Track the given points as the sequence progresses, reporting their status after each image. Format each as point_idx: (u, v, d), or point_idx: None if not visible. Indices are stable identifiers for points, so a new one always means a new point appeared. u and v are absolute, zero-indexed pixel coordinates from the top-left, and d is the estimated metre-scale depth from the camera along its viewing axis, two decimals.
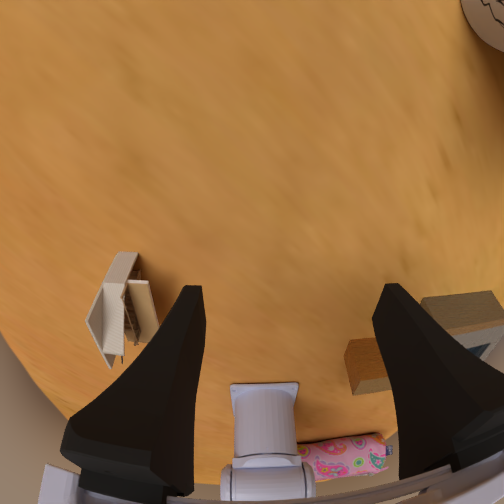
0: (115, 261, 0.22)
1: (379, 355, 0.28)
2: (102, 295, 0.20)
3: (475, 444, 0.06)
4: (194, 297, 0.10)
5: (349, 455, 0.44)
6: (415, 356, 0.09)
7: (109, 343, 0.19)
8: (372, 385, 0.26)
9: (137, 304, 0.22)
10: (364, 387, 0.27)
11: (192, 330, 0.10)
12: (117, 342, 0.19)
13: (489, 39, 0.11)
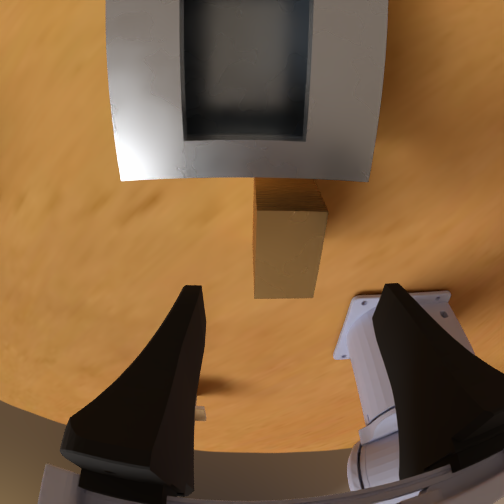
0: None
1: None
2: None
3: (475, 444, 0.06)
4: (194, 297, 0.10)
5: None
6: (415, 356, 0.09)
7: None
8: (282, 274, 0.15)
9: None
10: (285, 286, 0.15)
11: (192, 330, 0.10)
12: None
13: None
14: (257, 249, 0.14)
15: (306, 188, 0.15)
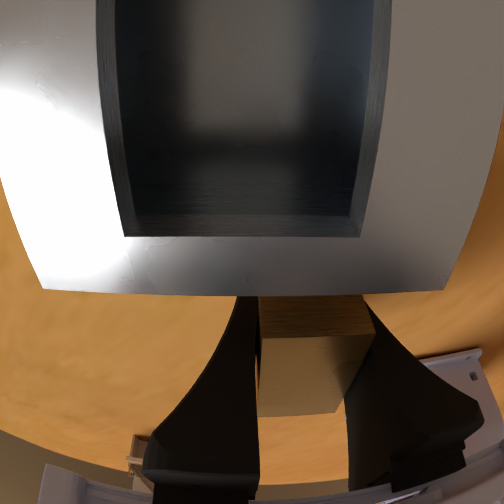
0: None
1: None
2: (138, 476, 0.23)
3: (419, 464, 0.06)
4: (254, 297, 0.10)
5: None
6: None
7: None
8: (296, 397, 0.10)
9: None
10: (299, 406, 0.10)
11: (256, 331, 0.10)
12: None
13: None
14: (262, 378, 0.09)
15: None
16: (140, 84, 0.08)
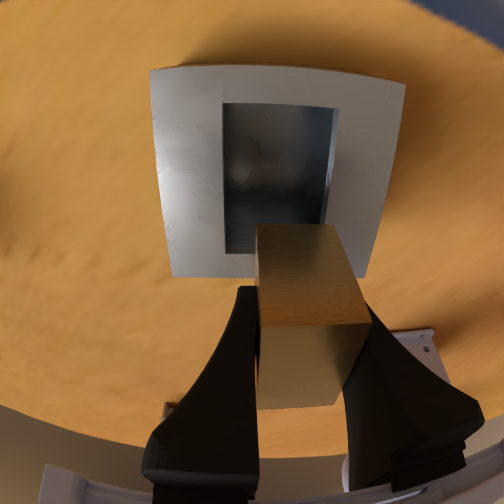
0: None
1: None
2: None
3: (419, 464, 0.06)
4: (254, 297, 0.10)
5: None
6: (361, 363, 0.09)
7: None
8: (295, 388, 0.10)
9: None
10: (298, 398, 0.10)
11: (256, 331, 0.10)
12: None
13: None
14: (261, 367, 0.09)
15: (336, 270, 0.10)
16: None
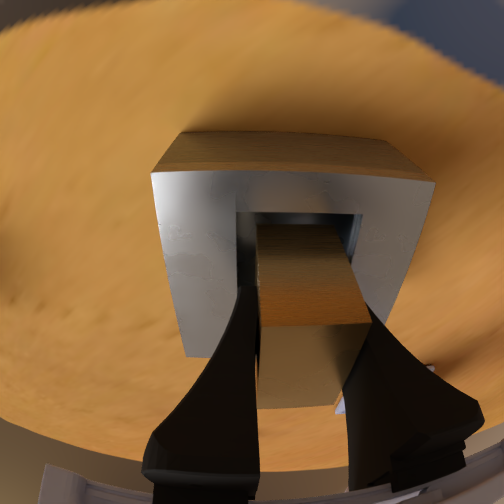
0: None
1: None
2: None
3: (419, 464, 0.06)
4: (254, 298, 0.10)
5: None
6: (360, 363, 0.09)
7: None
8: (295, 388, 0.10)
9: None
10: (298, 398, 0.10)
11: (256, 331, 0.10)
12: None
13: None
14: (261, 367, 0.09)
15: (335, 270, 0.10)
16: None
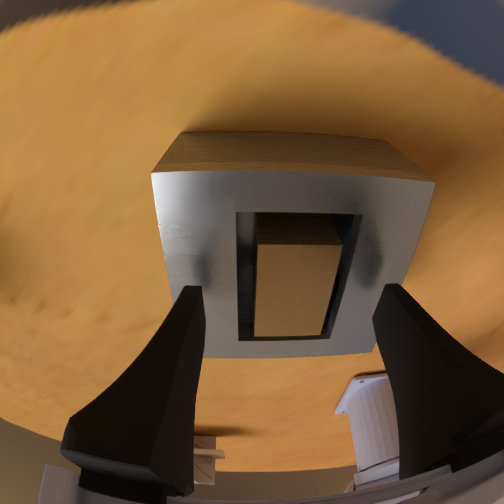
0: None
1: (254, 254, 0.14)
2: None
3: (475, 444, 0.06)
4: (194, 297, 0.10)
5: None
6: (415, 356, 0.09)
7: None
8: (286, 312, 0.13)
9: None
10: (289, 324, 0.13)
11: (192, 330, 0.10)
12: None
13: None
14: (258, 286, 0.12)
15: (316, 213, 0.13)
16: None
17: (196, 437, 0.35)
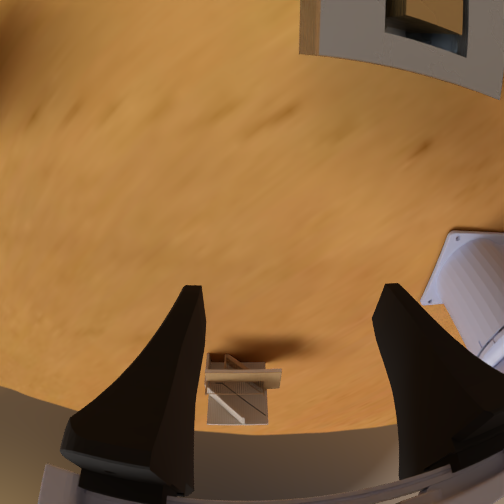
0: None
1: None
2: (212, 398, 0.27)
3: (475, 444, 0.06)
4: (194, 297, 0.10)
5: None
6: (415, 356, 0.09)
7: (237, 417, 0.25)
8: None
9: (229, 378, 0.27)
10: (436, 8, 0.08)
11: (192, 330, 0.10)
12: (235, 414, 0.24)
13: None
14: None
15: None
16: None
17: None
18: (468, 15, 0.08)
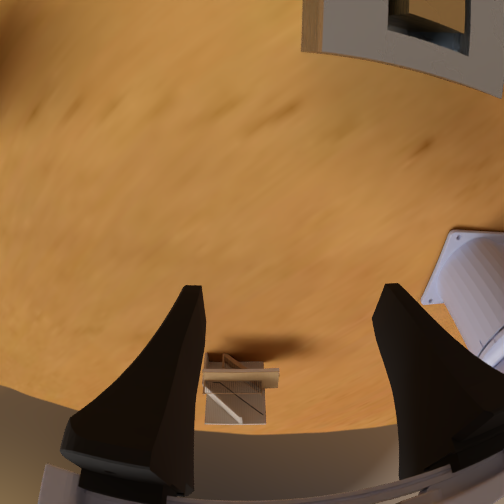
0: None
1: None
2: (210, 397, 0.27)
3: (475, 444, 0.06)
4: (194, 297, 0.10)
5: None
6: (415, 356, 0.09)
7: (234, 417, 0.25)
8: None
9: (227, 378, 0.26)
10: (439, 7, 0.08)
11: (192, 330, 0.10)
12: (233, 413, 0.24)
13: None
14: None
15: None
16: None
17: None
18: (470, 14, 0.08)
